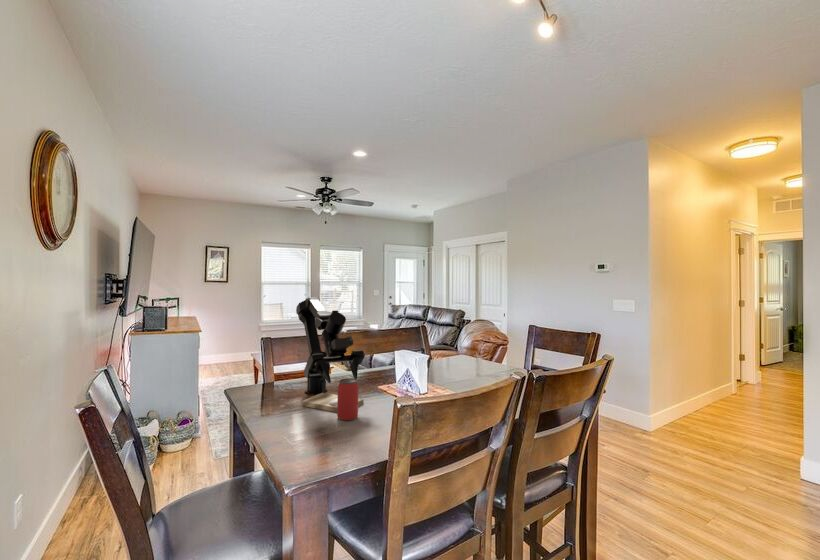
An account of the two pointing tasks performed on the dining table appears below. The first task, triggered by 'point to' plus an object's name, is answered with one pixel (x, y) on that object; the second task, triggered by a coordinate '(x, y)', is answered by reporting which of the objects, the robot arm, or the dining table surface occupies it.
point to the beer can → (347, 399)
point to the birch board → (325, 402)
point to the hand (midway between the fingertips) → (343, 380)
